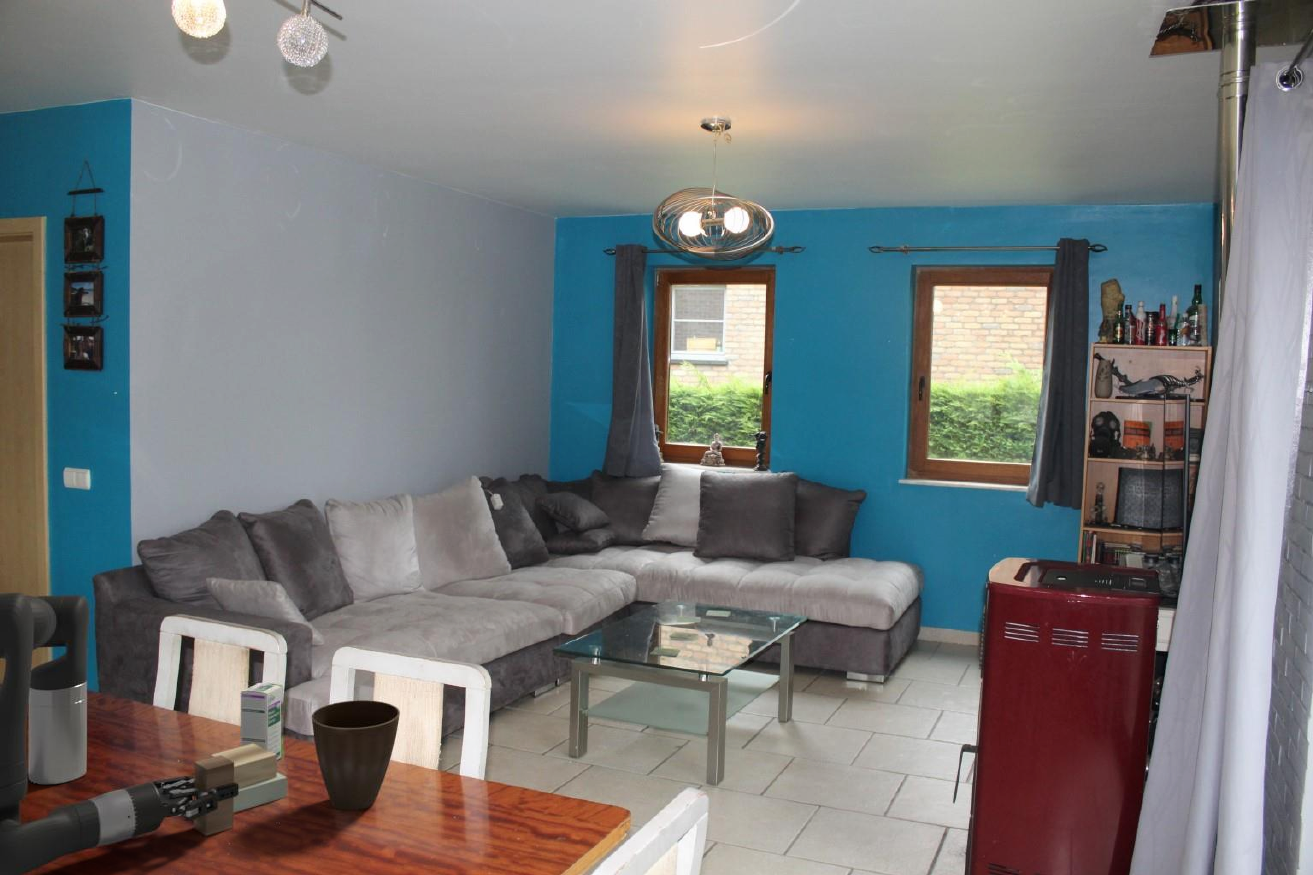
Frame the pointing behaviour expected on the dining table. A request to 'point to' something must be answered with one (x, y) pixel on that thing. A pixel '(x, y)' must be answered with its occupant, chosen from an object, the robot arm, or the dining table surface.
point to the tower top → (251, 764)
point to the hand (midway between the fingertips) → (229, 784)
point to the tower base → (260, 793)
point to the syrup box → (263, 717)
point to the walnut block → (213, 776)
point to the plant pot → (354, 749)
